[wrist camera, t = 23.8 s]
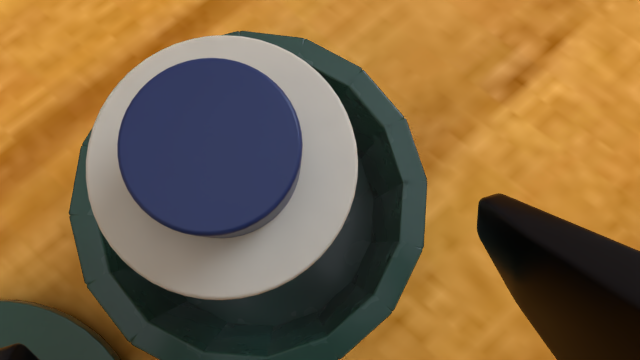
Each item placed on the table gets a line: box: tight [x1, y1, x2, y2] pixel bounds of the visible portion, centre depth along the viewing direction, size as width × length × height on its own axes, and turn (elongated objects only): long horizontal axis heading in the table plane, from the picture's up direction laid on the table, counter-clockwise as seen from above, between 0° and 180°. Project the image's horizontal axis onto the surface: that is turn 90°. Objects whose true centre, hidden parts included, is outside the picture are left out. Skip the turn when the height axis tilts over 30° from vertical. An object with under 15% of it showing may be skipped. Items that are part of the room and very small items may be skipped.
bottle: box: [86, 35, 358, 300], centre depth 12 cm, size 5×5×12 cm
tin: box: [69, 31, 427, 360], centre depth 16 cm, size 11×11×5 cm
